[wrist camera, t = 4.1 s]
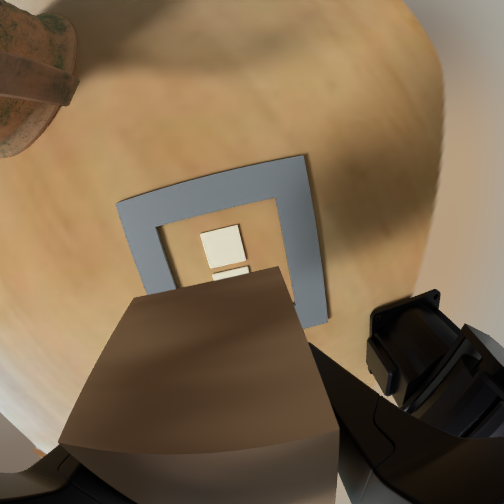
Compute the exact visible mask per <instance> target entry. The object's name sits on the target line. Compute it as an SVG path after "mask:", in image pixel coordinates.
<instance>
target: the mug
mask: <svg viewBox="0 0 504 504" xmlns="http://www.w3.org/2000/svg"><path fill="white" fill-rule="evenodd" d="M76 54H77V39H76V34H75V30H74V28H73V26H72V24H71V23H70V22H69V21H68V20H67V19H66V18H65V17H63V16H62V15H60V14H56V13H44V14H40V15H37V16H34V15H32V14H30V13H28V12H27V11H24V10H21V9H19V8H17V7H16V6H14V5H12V4H10V3H7V2H6V1H4V0H0V158H6V157H11V156H14V155H17V154H19V153H21V152H22V151H24V150H25V149H27V148H28V147H29V146H30V145H31V144H32V143H33V142H34V141H35V140H36V139H37V138H38V137H39V136H40V135H41V134H42V132H43V131H44V130H45V129H46V127H47V126H48V124H49V123H50V121H51V120H52V118H53V117H54V115H55V113H56V112H57V110H58V108H59V106H68V105H70V102H71V100H72V97H73V95H74V93H75V91H76V88H77V86H78V84H79V82H80V81H79V79H78V78H77V77H75V76H73V75H72V74H73V70H74V66H75V61H76Z"/></svg>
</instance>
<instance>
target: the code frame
mask: <svg viewBox="0 0 504 504" xmlns="http://www.w3.org/2000/svg"><path fill="white" fill-rule="evenodd" d="M271 198H275V200H276V205H277V210H278V215H279V220H280V225H281V230H282V235H283V240H284V245H285V251H286V256H287V261H288V267H289V272H290V278H291V283H292V289H293V294H294V300H295V303H294V304H293V305H294V307H295V310H296V313H297V315H298V318H299V320H300V323H301V326H302V328H303V329H305V328H309V327H312V326H316V325H320V324H324V323H327V322H328V317H327V307H326V297H325V288H324V280H323V272H322V264H321V256H320V249H319V242H318V235H317V229H316V222H315V216H314V210H313V204H312V198H311V192H310V187H309V181H308V176H307V171H306V166H305V161H304V156H303V155H301V156H296V157H290V158H285V159H280V160H275V161H270V162H265V163H260V164H255V165H251V166H246V167H242V168H237V169H233V170H229V171H225V172H221V173H217V174H213V175H209V176H205V177H201V178H197V179H194V180H190V181H186V182H183V183H179V184H176V185H172V186H169V187H165V188H162V189H159V190H155V191H152V192H149V193H146V194H142V195H139V196H136V197H133V198H130V199H127V200H124V201H121V202H118V203H116V207H117V210H118V213H119V217H120V220H121V223H122V226H123V229H124V232H125V235H126V238H127V241H128V244H129V247H130V250H131V253H132V256H133V259H134V261H135V264H136V267H137V269H138V272H139V275H140V277H141V280H142V282H143V285H144V287H145V290H146V292H147V295H150V294H155V293H160V292H164V291H169V290H174V289H178V288H177V286H176V283H175V280H174V277H173V274H172V272H171V269H170V266H169V263H168V260H167V257H166V254H165V251H164V248H163V245H162V242H161V239H160V236H159V232H158V229H157V226H161V225H165V224H168V223H172V222H176V221H179V220H183V219H187V218H191V217H195V216H199V215H203V214H207V213H211V212H215V211H219V210H223V209H227V208H231V207H235V206H240V205H244V204H248V203H253V202H257V201H262V200H266V199H271ZM200 236H201V239H202V243H203V246H204V250H205V253H206V257H207V260H208V263H209V267H210V269H211V268H215V267H220V266H224V265H229V264H233V263H237V262H242V261H246V258H245V254H244V250H243V246H242V241H241V237H240V233H239V229H238V225H234V226H230V227H225V228H221V229H217V230H213V231H209V232H205V233H201V234H200ZM246 273H249V270H248V266H245V267H241V268H236V269H232V270H228V271H223V272H219V273H214V274H212V277H213V280H214V281H215V280H220V279H224V278H229V277H233V276H238V275H242V274H246Z"/></svg>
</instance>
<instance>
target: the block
mask: <svg viewBox="0 0 504 504" xmlns="http://www.w3.org/2000/svg"><path fill="white" fill-rule="evenodd" d="M339 431H340V429H339V426H338V423H337V420H336V417H335V415H334V412H333V409H332V406H331V404H330V401H329V398H328V395H327V393H326V390H325V387H324V384H323V382H322V379H321V376H320V374H319V371H318V368H317V365H316V363H315V360H314V357H313V355H312V352H311V349H310V347H309V344H308V341H307V339H306V336H305V333H304V331H303V328H302V326H301V323H300V320H299V318H298V315H297V313H296V310H295V307H294V305H293V302H292V300H291V297H290V294H289V292H288V289H287V287H286V284H285V282H284V279H283V277H282V274H281V271H280V269H279V266H277V267H272V268H268V269H264V270H259V271H255V272H251V273H246V274H242V275H238V276H233V277H229V278H224V279H220V280H215V281H211V282H206V283H202V284H197V285H192V286H188V287H183V288H179V289H174V290H169V291H164V292H160V293H155V294H150V295H145V296H140V297H136V298H133V300H132V302H131V303H130V305H129V307H128V308H127V310H126V312H125V313H124V315H123V317H122V318H121V320H120V322H119V323H118V325H117V327H116V328H115V330H114V332H113V334H112V335H111V337H110V339H109V341H108V342H107V344H106V346H105V348H104V349H103V351H102V353H101V355H100V357H99V359H98V360H97V362H96V364H95V366H94V368H93V370H92V372H91V374H90V375H89V377H88V379H87V381H86V383H85V385H84V387H83V389H82V391H81V393H80V395H79V397H78V399H77V401H76V403H75V405H74V407H73V410H72V412H71V414H70V416H69V418H68V420H67V422H66V425H65V427H64V429H63V431H62V434H61V436H60V438H59V440H58V443H59V444H60V445H61V446H62V447H63V448H65V449H66V450H67V451H68V452H69V453H70V454H71V455H72V456H73V457H75V458H76V459H77V460H78V461H79V462H80V463H82V464H83V465H84V466H85V467H87V468H88V469H89V470H90V471H92V472H93V473H94V474H95V475H97V476H98V477H99V478H101V479H102V480H103V481H105V482H106V483H107V484H109V485H110V486H112V487H113V488H115V489H116V490H118V491H119V492H120V493H122V494H124V495H125V496H127V497H128V498H130V499H131V500H133V501H135V502H136V503H138V504H335V498H336V488H337V474H338V458H339Z"/></svg>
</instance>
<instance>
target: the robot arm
mask: <svg viewBox="0 0 504 504" xmlns="http://www.w3.org/2000/svg"><path fill="white" fill-rule="evenodd" d="M439 302H440V292H439V291H438V290H436V289H433V290H431V291H428V292H425V293H423V294H420V295H418V296H415V297H412V298H409V299H406V300H404V301H401V302H398V303H395V304H392V305H389V306H386V307H383V308H380V309H377V310H375V311H373V312H372V313H371V315H370V337H369V338H368V340H367V355H366V363H367V365H368V370H369V372H370V373H371V374H373V375H374V377H375V379H376V381H377V382H378V384H379V386H380V388H381V390H382V391H383V393H384V395H386V396H391V395H392V396H393V397H394V399H395V401H396V403H397V405H398V406H399V407H397V406H396V405H394V404H393V403H391V402H389V401H388V400H387V399H385V398H384V397H383V396H380V395H379V394H378V393H377V392H376V391H374V390H373V389H371V388H370V387H369V386H367V385H366V384H365V383H363V382H362V381H360V380H359V379H358V378H356V377H355V376H354V375H352V374H351V373H350V372H348V371H347V370H346V369H344V368H343V367H342V366H340V365H339V364H338V363H336V362H335V361H334V360H332V359H331V358H330V357H328V356H327V355H326V354H324V353H323V352H322V351H321V350H319V349H318V348H317V347H315V346H314V345H313V344H311V343H310V342H308V344H309V347H310V349H311V352H312V355H313V357H314V360H315V363H316V365H317V368H318V371H319V374H320V376H321V379H322V382H323V384H324V387H325V390H326V393H327V395H328V398H329V401H330V404H331V406H332V409H333V412H334V415H335V417H336V420H337V423H338V426H339V429H340V431H339V458H338V473H339V475H340V478H341V480H342V482H343V485H344V487H345V489H346V492H347V494H348V496H349V499H350V501H351V503H352V504H504V348H503V347H502V346H501V345H500V344H499V343H497V342H496V341H495V340H494V339H493V338H492V337H490V336H489V335H487V334H485V333H483V332H481V331H479V330H477V329H475V328H473V327H471V326H469V325H467V324H464V326H463V327H462V329H461V330H460V329H459V328H458V327H457V326H456V325H455V324H454V323H453V322H452V321H451V320H450V319H448V317H446V316H445V315H444V314H443V313H442V312H441V311H440V310H439V309H438V308H439ZM378 315H379V316H378ZM376 316H378V317H377V318H376ZM0 504H138V503H136V502H135V501H133V500H131V499H130V498H128V497H127V496H125V495H124V494H122V493H120V492H119V491H118V490H116V489H115V488H113V487H112V486H110V485H109V484H107V483H106V482H105V481H103V480H102V479H101V478H99V477H98V476H97V475H95V474H94V473H93V472H92V471H90V470H89V469H88V468H87V467H85V466H84V465H83V464H82V463H80V462H79V461H78V460H77V459H76V458H75V457H73V456H72V455H71V454H70V453H69V452H68V451H67V450H66V449H65V448H63V447H62V446H61V445H60V444H59V445H58V446H57V447H56V448H54V449H53V450H52V451H51V452H49V453H48V454H47V455H46V456H44V457H43V458H42V459H40V460H39V461H38V462H36V463H35V464H34V465H32V466H31V467H30V468H28V469H27V470H25V471H22V472H18V473H0Z"/></svg>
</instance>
